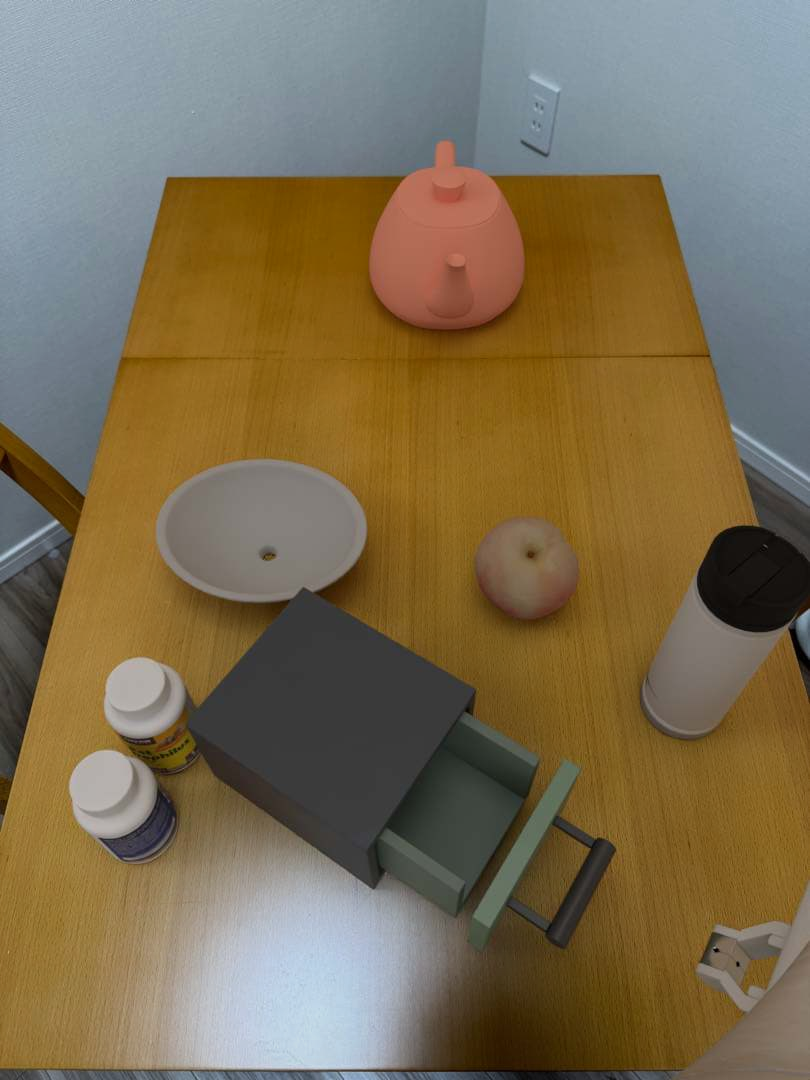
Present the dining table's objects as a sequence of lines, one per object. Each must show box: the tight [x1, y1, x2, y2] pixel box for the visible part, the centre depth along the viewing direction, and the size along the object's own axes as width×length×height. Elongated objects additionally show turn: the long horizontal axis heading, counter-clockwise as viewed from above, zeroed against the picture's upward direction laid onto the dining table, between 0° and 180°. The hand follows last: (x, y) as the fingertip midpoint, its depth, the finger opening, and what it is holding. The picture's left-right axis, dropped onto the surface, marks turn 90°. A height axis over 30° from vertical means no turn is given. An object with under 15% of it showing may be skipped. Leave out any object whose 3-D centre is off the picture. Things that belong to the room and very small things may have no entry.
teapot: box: [368, 140, 525, 331], centre depth 89 cm, size 25×17×13 cm
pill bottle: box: [68, 749, 180, 865], centre depth 57 cm, size 5×5×10 cm
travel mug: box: [639, 524, 810, 741], centre depth 58 cm, size 6×7×20 cm
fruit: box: [474, 516, 580, 621], centre depth 69 cm, size 8×8×8 cm
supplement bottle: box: [103, 656, 202, 775], centre depth 61 cm, size 6×6×10 cm
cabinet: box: [185, 587, 477, 891], centre depth 60 cm, size 15×13×10 cm
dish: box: [155, 458, 368, 604], centre depth 72 cm, size 18×14×5 cm
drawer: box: [374, 711, 617, 953], centre depth 56 cm, size 18×11×8 cm, turn 56°
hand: (709, 954), depth 48 cm, fingers closed
